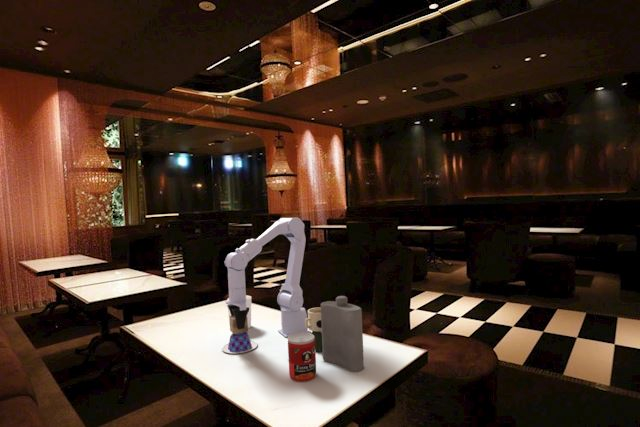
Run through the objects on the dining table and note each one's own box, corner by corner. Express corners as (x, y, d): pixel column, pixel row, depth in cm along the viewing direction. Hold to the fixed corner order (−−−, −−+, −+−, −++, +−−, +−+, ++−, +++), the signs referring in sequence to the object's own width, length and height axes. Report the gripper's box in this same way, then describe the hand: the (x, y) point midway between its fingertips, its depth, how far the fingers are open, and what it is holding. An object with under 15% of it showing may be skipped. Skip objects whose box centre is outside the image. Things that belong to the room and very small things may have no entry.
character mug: (313, 356, 115) (311, 315, 115) (300, 350, 121) (298, 311, 120) (339, 347, 122) (337, 308, 122) (325, 341, 127) (324, 304, 127)
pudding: (214, 350, 124) (214, 335, 124) (242, 339, 134) (241, 325, 133) (237, 358, 117) (236, 342, 117) (264, 346, 126) (264, 331, 126)
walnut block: (244, 327, 128) (243, 313, 128) (247, 331, 124) (247, 316, 124) (230, 330, 126) (229, 315, 126) (233, 334, 122) (232, 319, 121)
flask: (369, 366, 106) (366, 298, 106) (356, 373, 102) (353, 303, 101) (332, 353, 117) (330, 291, 116) (319, 359, 113) (317, 295, 112)
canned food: (294, 384, 97) (293, 344, 97) (285, 373, 104) (283, 335, 104) (321, 378, 100) (319, 338, 100) (310, 367, 107) (308, 330, 107)
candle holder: (240, 332, 141) (239, 302, 140) (223, 329, 146) (221, 299, 146) (257, 325, 149) (256, 296, 149) (240, 322, 154) (239, 294, 154)
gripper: (220, 285, 129) (222, 323, 130) (230, 292, 116) (232, 334, 117) (240, 282, 133) (242, 319, 133) (251, 289, 120) (253, 330, 120)
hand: (238, 326), depth 125 cm, fingers closed on walnut block, 5 cm apart
